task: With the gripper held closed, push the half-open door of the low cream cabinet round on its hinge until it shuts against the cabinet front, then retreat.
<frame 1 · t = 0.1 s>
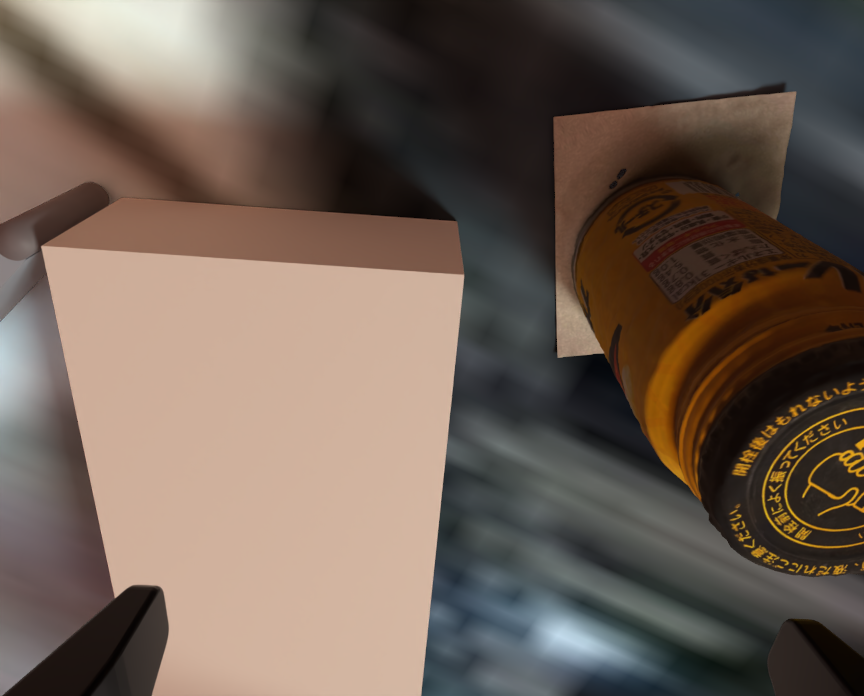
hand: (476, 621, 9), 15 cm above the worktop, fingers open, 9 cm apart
cabinet: (297, 455, 26), on the worktop
condiment: (660, 233, 22), on the worktop
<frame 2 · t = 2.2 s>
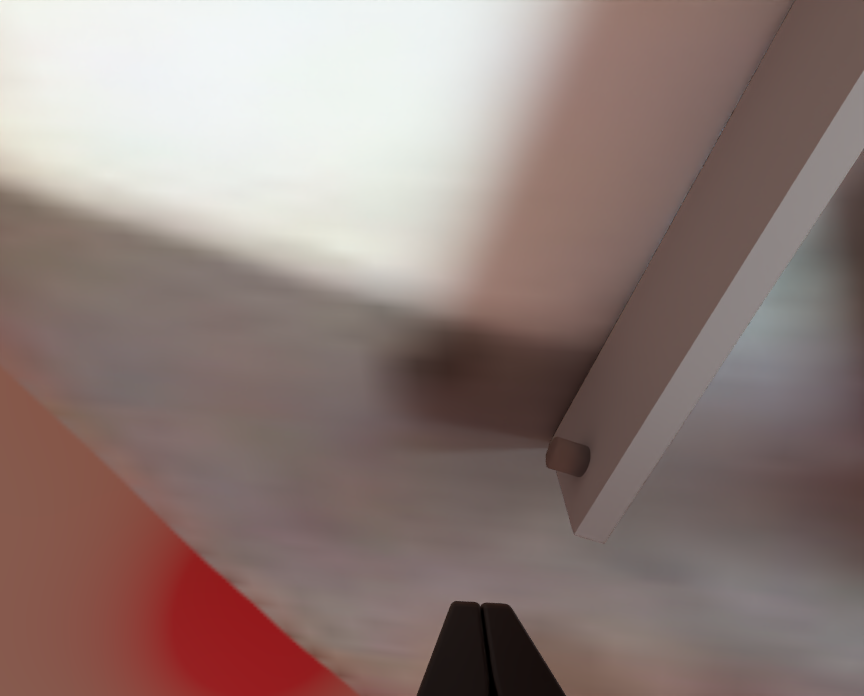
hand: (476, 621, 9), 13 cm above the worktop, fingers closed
door: (724, 205, 17), point 3 cm above the worktop, hinge at 45.0°
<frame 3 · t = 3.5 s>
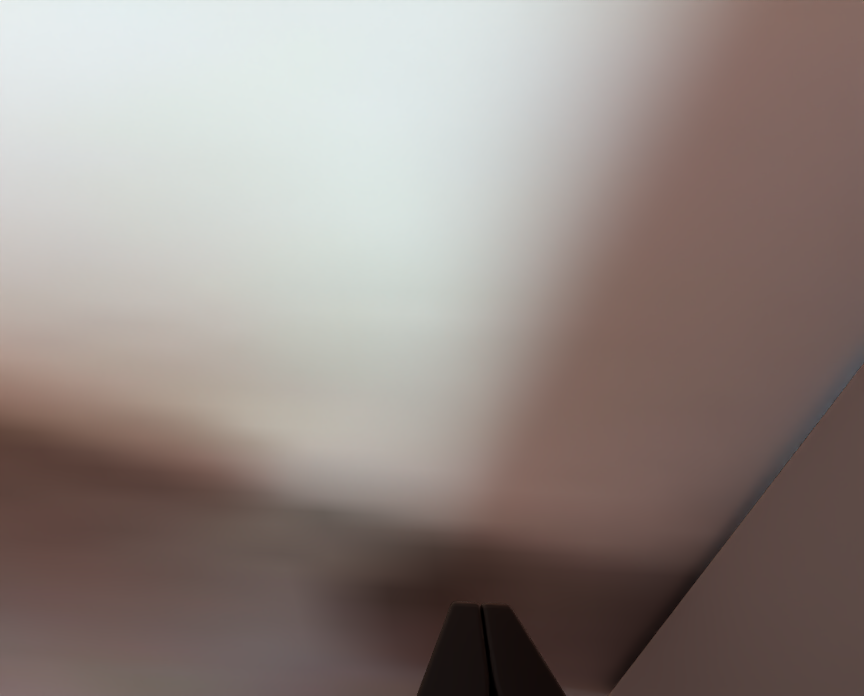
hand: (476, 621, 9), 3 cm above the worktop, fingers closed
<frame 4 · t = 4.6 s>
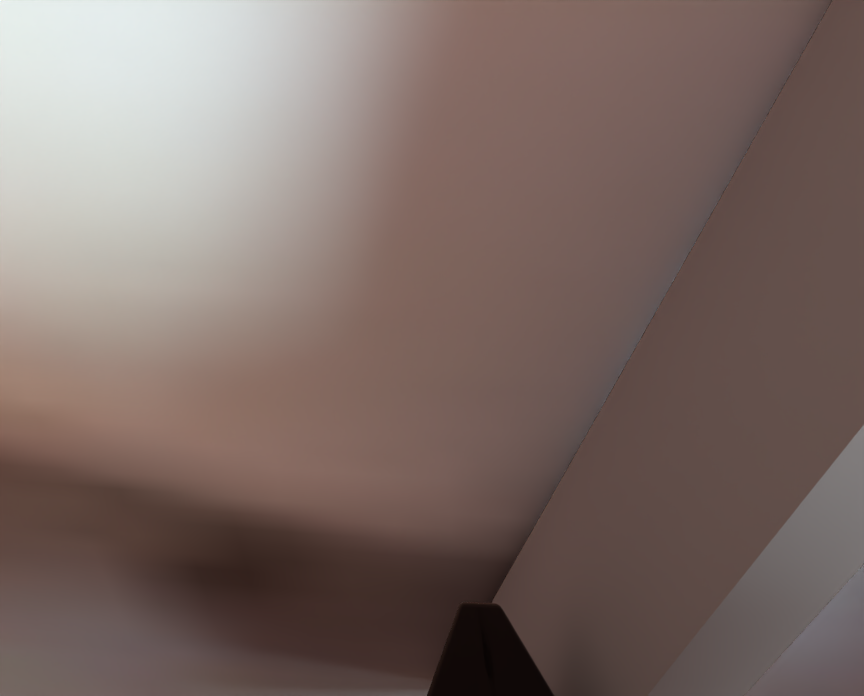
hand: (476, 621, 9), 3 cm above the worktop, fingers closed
door: (712, 384, 8), point 3 cm above the worktop, hinge at 44.1°, touching gripper
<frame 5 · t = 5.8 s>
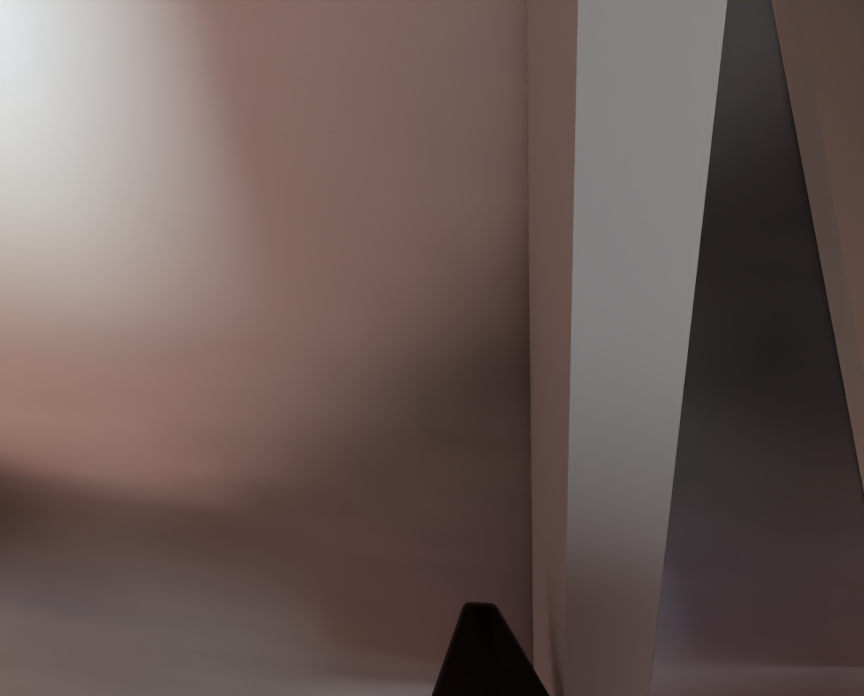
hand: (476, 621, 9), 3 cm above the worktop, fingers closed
door: (544, 374, 8), point 3 cm above the worktop, hinge at 19.3°, touching gripper
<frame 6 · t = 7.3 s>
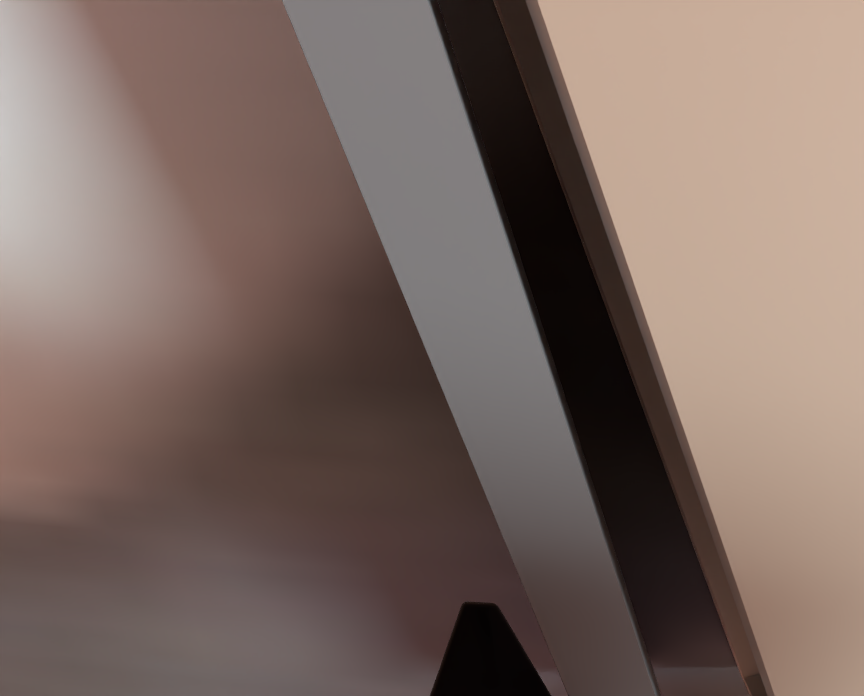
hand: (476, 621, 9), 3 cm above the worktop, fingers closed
door: (469, 360, 8), point 3 cm above the worktop, hinge at 4.3°, touching gripper
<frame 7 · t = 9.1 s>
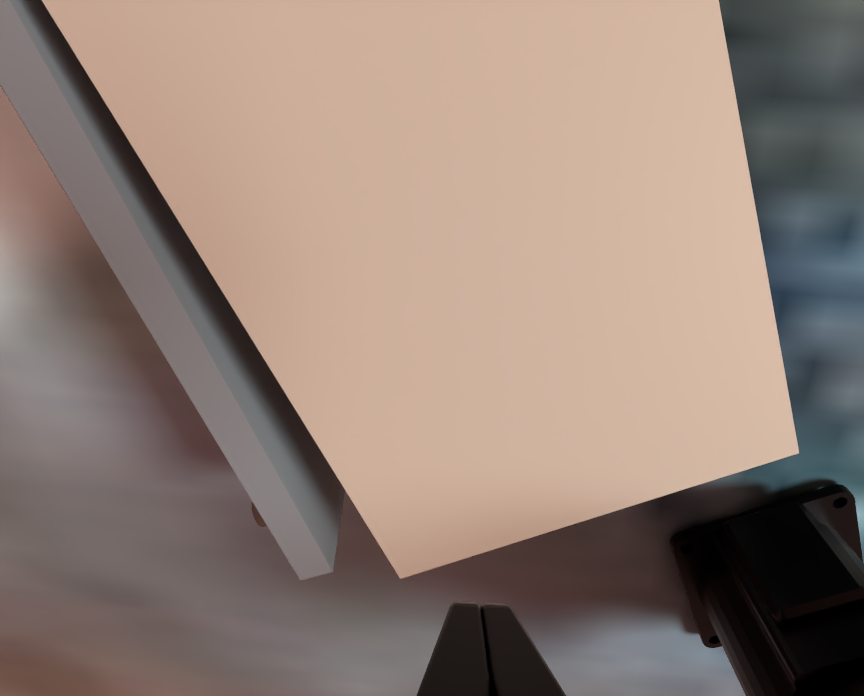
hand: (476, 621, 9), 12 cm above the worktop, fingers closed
cabinet: (441, 126, 17), on the worktop
door: (150, 239, 16), point 3 cm above the worktop, hinge at 4.2°
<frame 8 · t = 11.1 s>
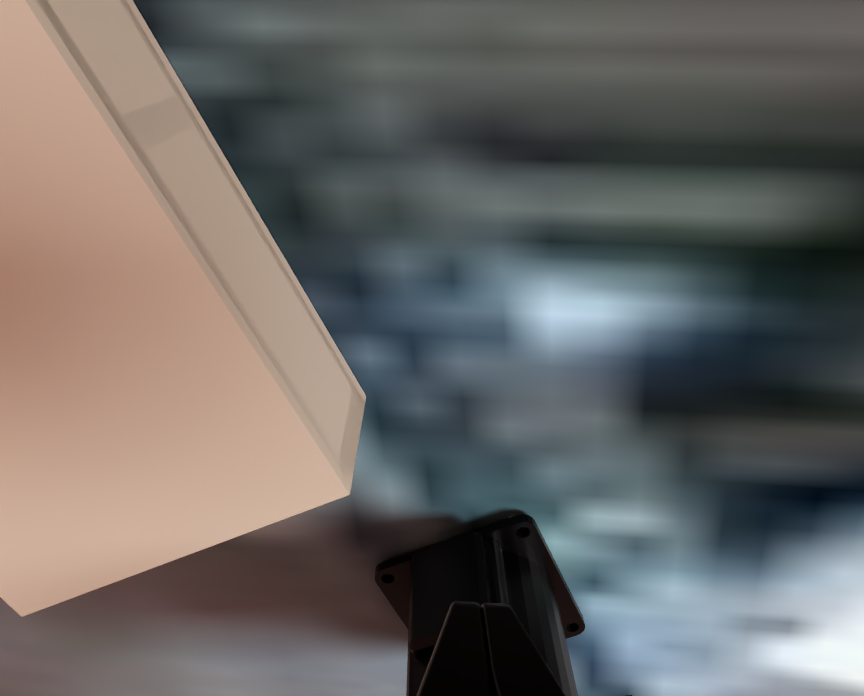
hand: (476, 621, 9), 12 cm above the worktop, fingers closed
cabinet: (33, 192, 19), on the worktop
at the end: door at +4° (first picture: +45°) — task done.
